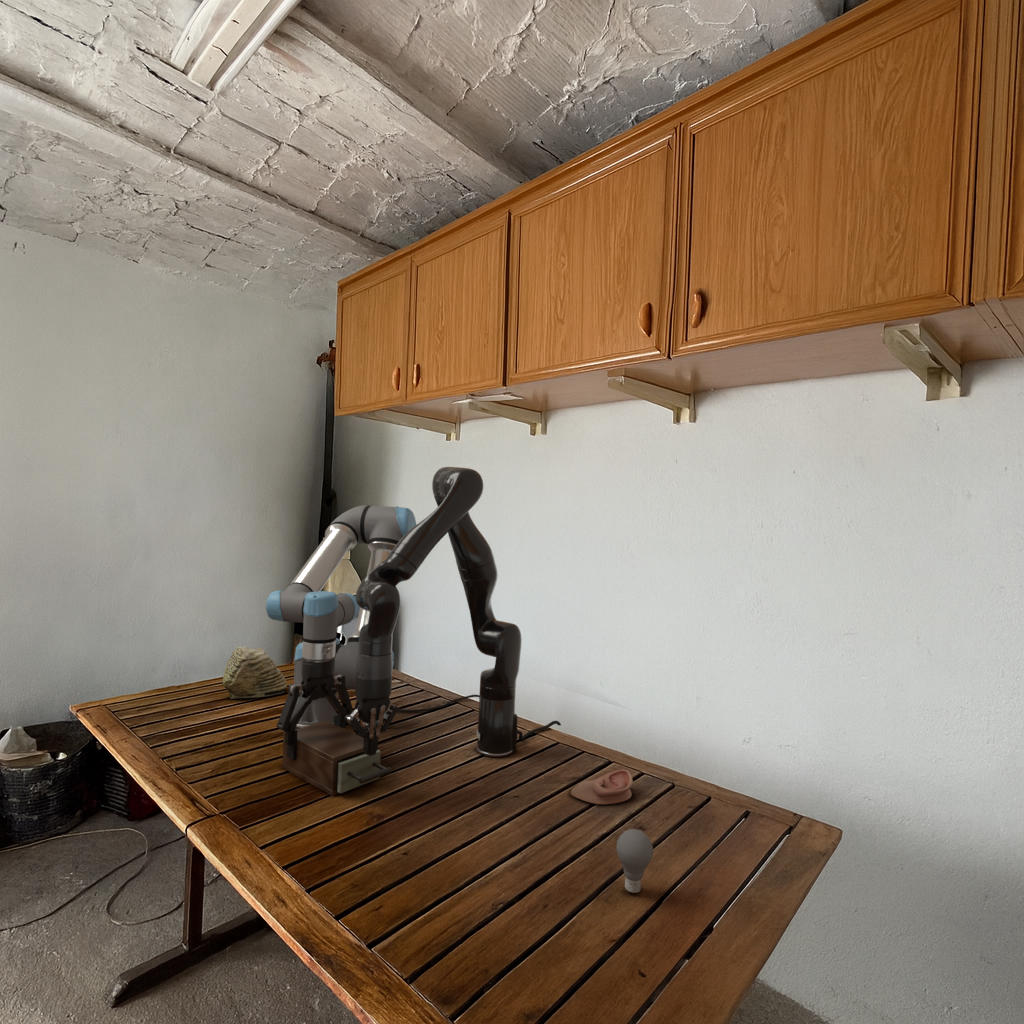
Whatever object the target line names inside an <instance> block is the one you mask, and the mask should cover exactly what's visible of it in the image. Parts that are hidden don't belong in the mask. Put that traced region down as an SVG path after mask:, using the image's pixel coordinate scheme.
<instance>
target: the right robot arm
mask: <svg viewBox="0 0 1024 1024" xmlns="http://www.w3.org/2000/svg"><path fill="white" fill-rule="evenodd" d="M431 487H432V490H431V491H432V494H433V498H434V500H435V503H436V505H437V507H436V508H435V509H434V510H433V511H432V512H431V513H430V514H429V515H428V516H426V517H425V518H424V519H422V520H421V521H419V522H417V523H416V526H414V527H413V528H412V529H410V530H409V531H408V532H407V533H406V534H405V535H404V536H403V537H402V538H401V539H400V541H399V542H398V543H397V545H396V546H395V547H394V549H393V550H392V551H391V553H390V554H389V555H388V557H387V558H386V559H385V560H384V561H383V562H382V563H380V564H379V565H378V566H377V567H376V568H375V569H374V570H373V571H371V572H370V573H369V574H368V575H367V574H366V576H365V577H364V578H363V579H362V580H361V582H360V583H359V585H358V587H357V589H356V592H355V597H356V601H357V604H358V605H359V606H360V607H361V608H362V609H364V610H366V611H369V612H370V615H369V620H368V624H366V625H364V626H362V628H361V629H360V634H359V651H358V659H357V667H356V688H355V690H354V693H355V699H356V700H355V704H354V708H353V711H352V714H351V715H346V716H345V723H347V725H348V726H349V727H350V729H351V730H352V732H353V733H355V734H356V735H358V736H360V737H362V738H364V742H363V751H364V752H365V754H366V755H368V756H372V755H374V754H376V751H377V750H379V737H380V736H381V734H383V733H386V732H387V731H388V728H390V725H391V724H392V722H393V720H394V718H395V717H396V714H397V713H398V712H399V711H398V709H399V706H397V705H395V704H393V703H392V702H391V698H390V696H391V695H392V683H393V670H392V665H393V662H392V651H393V635H394V634H393V633H394V631H395V627H396V625H397V621H398V616H399V613H400V609H401V594H400V591H399V588H398V587H397V586H398V585H399V584H400V583H402V582H406V581H409V580H411V579H412V578H413V577H414V575H416V573H417V571H418V570H419V569H420V567H421V566H422V564H423V563H424V562H425V560H426V559H427V558H428V557H429V555H430V554H431V552H432V551H433V550H434V549H435V547H436V546H437V545H438V543H440V541H441V540H442V539H443V538H444V537H445V536H446V535H448V538H449V541H450V544H451V548H452V552H453V554H454V558H455V562H456V567H457V571H458V574H459V578H460V581H461V582H462V583H461V584H462V586H463V590H464V594H465V598H466V602H467V607H468V610H469V615H470V621H471V628H472V633H473V639H474V642H475V647H476V648H477V650H478V651H479V652H480V653H481V654H483V655H485V656H488V657H492V658H495V662H494V667H491V668H486V669H484V670H482V671H481V673H480V676H479V695H480V696H479V697H478V700H479V701H478V719H477V720H478V721H477V729H476V738H477V739H476V742H477V743H476V751H477V753H479V754H481V755H482V756H486V757H490V758H502V757H507V756H509V755H511V754H513V753H516V752H517V740H518V739H519V740H520V741H523V740H525V739H526V738H528V737H529V736H531V735H532V734H534V733H537V732H538V733H539V732H541V731H544V730H547V729H548V728H550V727H552V726H553V725H557V726H562V724H561V722H560V721H559V720H552V721H551V722H549V723H547V724H545V725H542V726H539V727H537V728H533V729H531V730H529V731H527V732H526V733H525V734H523V732H522V731H521V730H519V729H518V714H517V713H516V712H515V710H516V690H517V689H516V688H517V687H516V686H517V678H518V675H519V671H520V664H521V652H522V643H523V642H522V639H523V638H522V632H521V629H520V627H519V626H518V625H517V624H515V623H512V622H507V621H503V620H498V619H496V617H495V614H494V610H493V605H492V597H493V593H494V591H495V588H496V585H497V582H498V577H499V576H498V573H499V572H498V568H497V563H496V560H495V557H494V553H493V550H492V548H491V545H490V544H489V542H488V541H487V540H486V539H487V538H485V536H484V535H483V533H482V532H481V531H480V530H479V528H478V527H477V526H476V524H475V523H474V520H473V519H472V517H471V514H470V510H471V509H473V507H474V506H475V505H476V504H477V503H478V502H479V501H480V499H481V498H482V495H483V491H484V480H483V477H482V475H481V474H480V473H479V472H478V471H477V470H476V469H473V468H469V467H457V466H443V467H440V468H439V469H438V470H437V471H436V472H435V473H434V475H433V478H432V482H431ZM393 666H394V665H393Z"/></svg>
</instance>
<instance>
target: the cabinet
mask: <svg viewBox="0 0 1024 1024" xmlns="http://www.w3.org/2000/svg"><path fill="white" fill-rule="evenodd" d="M295 730H297V756H296V760H292V759H290V758H288V757H287V745H286V744H285V731H283V736H282V737H283V738H282V760H281V761H282V762H281V763H282V765H281V768H282V769H284V770H286V771H287V772H289V773H291V774H293V775H295V776H296V777H298V778H300V779H301V780H303V781H305V782H307V783H309V784H311V785H312V786H314V787H316V788H317V789H319V790H320V791H322V792H325V793H326V794H328V795H330V796H332V797H333V796H336V795H339V794H340V793H339V792H337V788H338V785H337V763H338V762H337V761H339V760H342V759H345V758H348V757H351V756H354V755H357V754H360V753H363V752H364V751H363V742H364V738H362V737H360V736H358V735H356V734H355V732H354V731H351V730H348V729H346V728H345V729H344V728H341V727H339V726H337V725H335V724H332V723H330V722H328V721H324V722H320V723H316V724H313V725H309V726H306V727H302V728H298V729H295Z"/></svg>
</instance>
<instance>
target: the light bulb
mask: <svg viewBox="0 0 1024 1024" xmlns="http://www.w3.org/2000/svg"><path fill="white" fill-rule="evenodd" d="M615 849H616V854H617V857H618V859H619V861H620V863H621V865H622V867H623V873H624V874H623V875H624V876H625V878H624V888H625V890H627V891H628V892H630V893H634V894H635V893H639V892H640V891H641V889H642V887H641V886H642V879H643V877H644V875H645V871H646V868H647V867H648V866H649V864H650V863H651V861H652V859H653V855H654V847H653V843H652V841H651V838H649V836H648V835H647V834H646V833H645V832H643V831H642V830H641V829H636V828H629V829H627V830H625V831H623V832H622V833H621V834H620V835H619V837H618V839H617V841H616V847H615Z"/></svg>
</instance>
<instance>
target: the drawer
mask: <svg viewBox="0 0 1024 1024" xmlns="http://www.w3.org/2000/svg"><path fill="white" fill-rule="evenodd" d="M381 752H382V751H381V750H380V749H378V750H377V751H376V754H374V755H372V756H368V755H366V754H365V752H363V753H360V754H357V755H354V756H351V757H348V758H345V759H342V760H339V761H337V762H338V763H337V785H338V788H337V792H339V793H338V794H344V793H346V792H348V791H351V790H353V789H355V788H358V787H361V786H364V785H367V784H368V783H371V782H374V781H376V780H379V779H381V777H383V776H386V775H388V774H391V773H392V768H391V767H390V766H387V767H386V766H384V765H382V764H381V756H382V755H381Z"/></svg>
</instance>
